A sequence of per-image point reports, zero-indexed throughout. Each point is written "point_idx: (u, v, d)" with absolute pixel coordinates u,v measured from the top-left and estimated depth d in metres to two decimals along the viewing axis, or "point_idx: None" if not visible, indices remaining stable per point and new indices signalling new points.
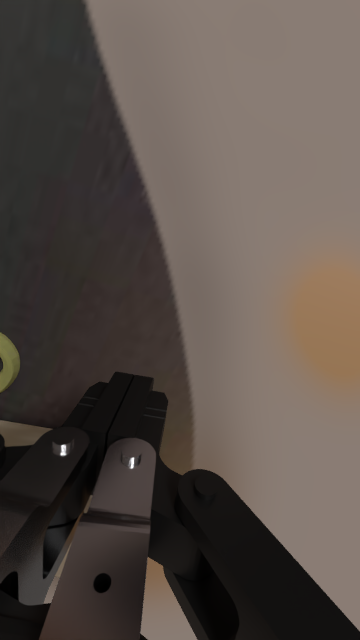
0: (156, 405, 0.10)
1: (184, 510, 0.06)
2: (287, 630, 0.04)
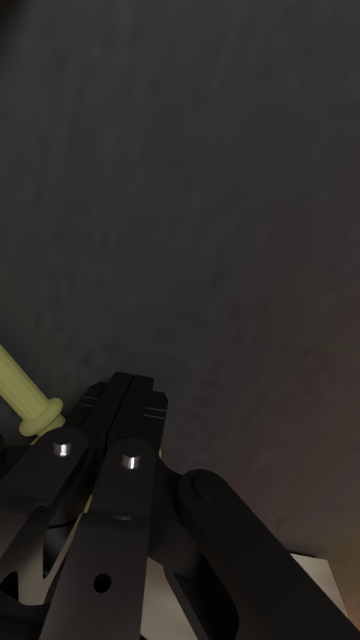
0: (156, 405, 0.10)
1: (184, 510, 0.06)
2: (287, 630, 0.04)
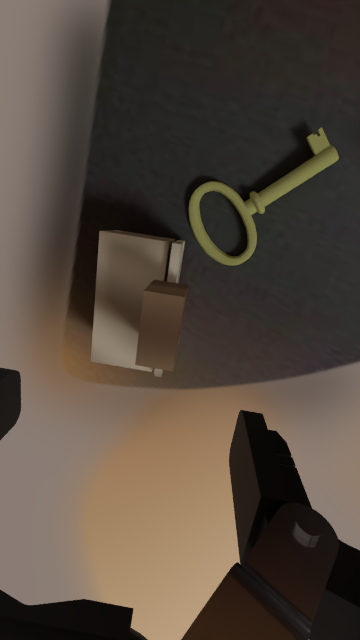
0: (277, 448, 0.09)
1: None
2: None
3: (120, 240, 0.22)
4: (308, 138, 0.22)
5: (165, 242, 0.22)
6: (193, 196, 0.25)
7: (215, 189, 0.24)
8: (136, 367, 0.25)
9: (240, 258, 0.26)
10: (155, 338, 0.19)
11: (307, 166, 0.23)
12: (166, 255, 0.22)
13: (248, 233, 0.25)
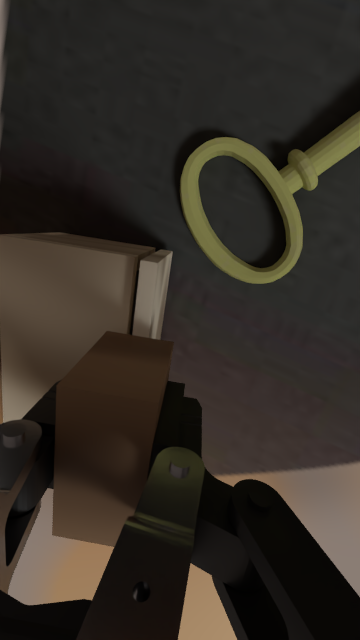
0: (191, 412, 0.10)
1: (237, 517, 0.06)
2: None
3: (39, 253, 0.11)
4: None
5: (127, 257, 0.11)
6: (187, 167, 0.14)
7: (225, 151, 0.13)
8: None
9: (275, 271, 0.15)
10: (93, 486, 0.08)
11: None
12: (130, 283, 0.11)
13: (287, 227, 0.14)
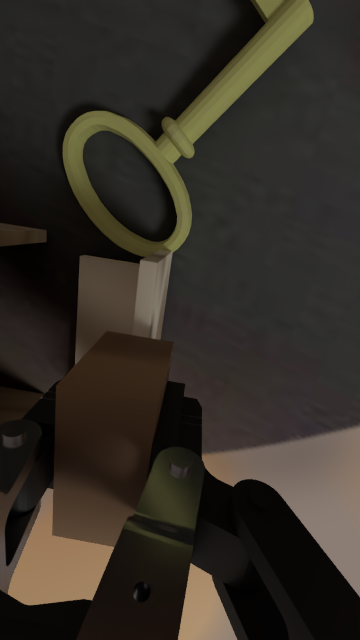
0: (191, 412, 0.10)
1: (237, 517, 0.06)
2: None
3: None
4: None
5: None
6: (65, 145, 0.14)
7: (99, 125, 0.13)
8: None
9: (167, 243, 0.15)
10: (92, 487, 0.08)
11: (254, 44, 0.12)
12: None
13: (172, 197, 0.14)
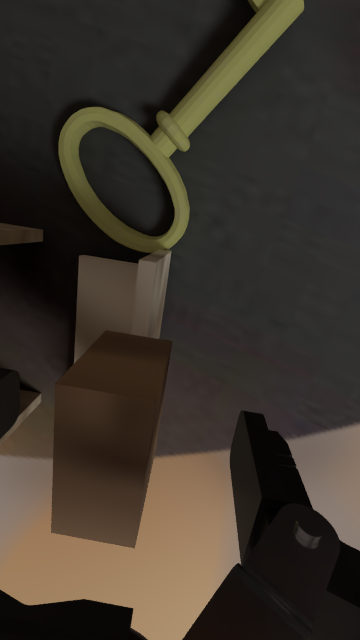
0: (278, 449, 0.09)
1: None
2: None
3: None
4: None
5: None
6: (61, 142, 0.14)
7: (94, 121, 0.13)
8: None
9: (166, 237, 0.15)
10: (91, 484, 0.08)
11: (245, 34, 0.12)
12: None
13: (169, 191, 0.14)
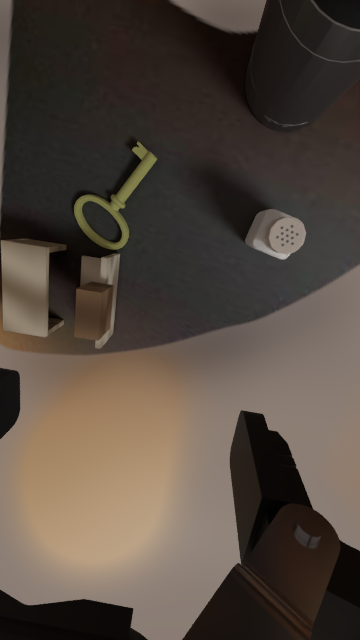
0: (278, 449, 0.09)
1: None
2: None
3: (15, 246, 0.33)
4: (132, 150, 0.33)
5: (44, 247, 0.33)
6: (74, 208, 0.35)
7: (87, 200, 0.35)
8: (34, 334, 0.36)
9: (119, 242, 0.36)
10: (85, 319, 0.30)
11: (138, 169, 0.33)
12: (46, 256, 0.33)
13: (119, 224, 0.35)
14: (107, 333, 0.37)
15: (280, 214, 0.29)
